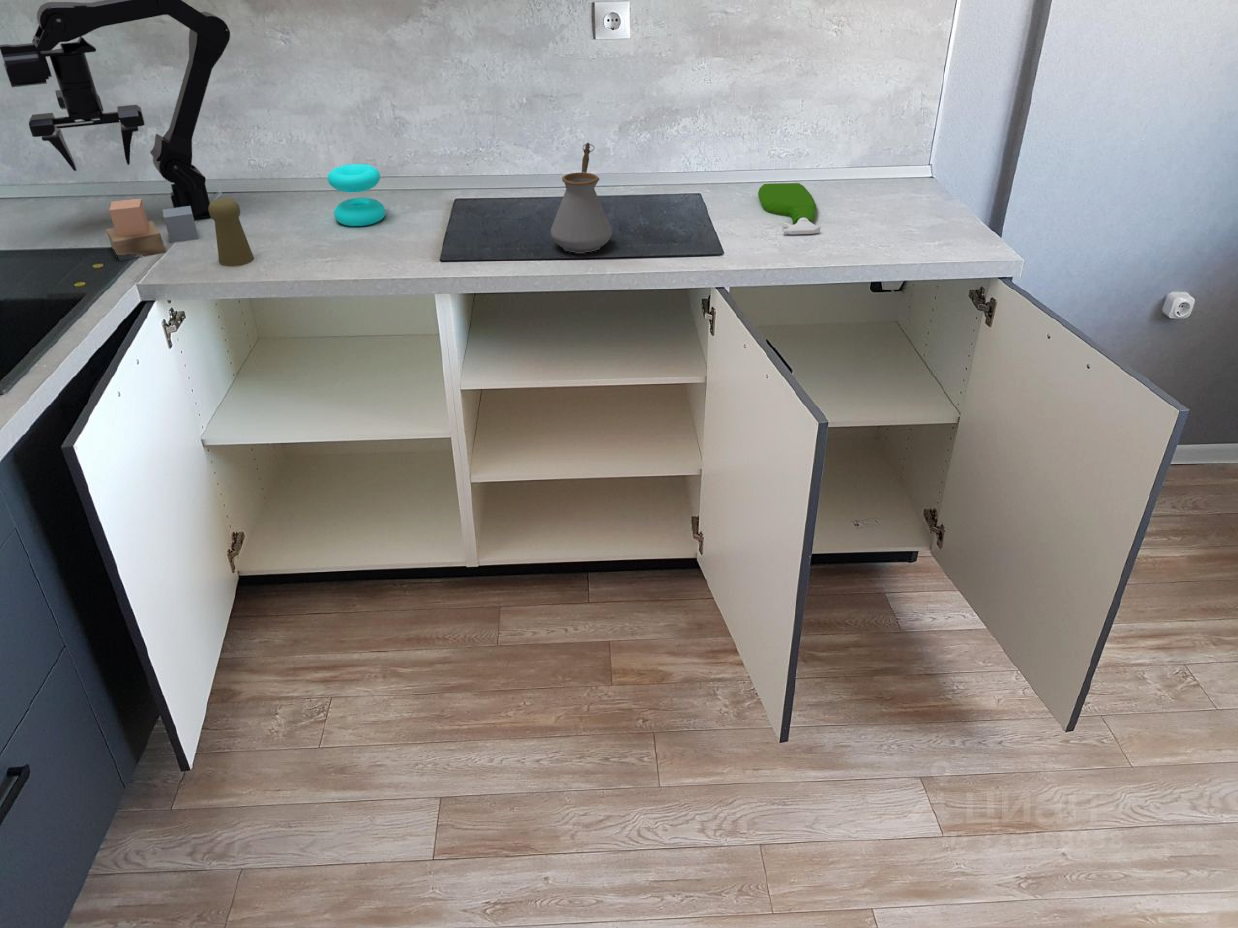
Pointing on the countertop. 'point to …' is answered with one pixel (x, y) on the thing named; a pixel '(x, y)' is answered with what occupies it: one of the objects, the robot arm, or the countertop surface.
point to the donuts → (356, 181)
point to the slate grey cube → (180, 224)
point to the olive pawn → (230, 233)
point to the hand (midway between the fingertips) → (102, 167)
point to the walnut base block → (137, 242)
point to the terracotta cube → (129, 217)
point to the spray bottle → (790, 206)
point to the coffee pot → (581, 213)
